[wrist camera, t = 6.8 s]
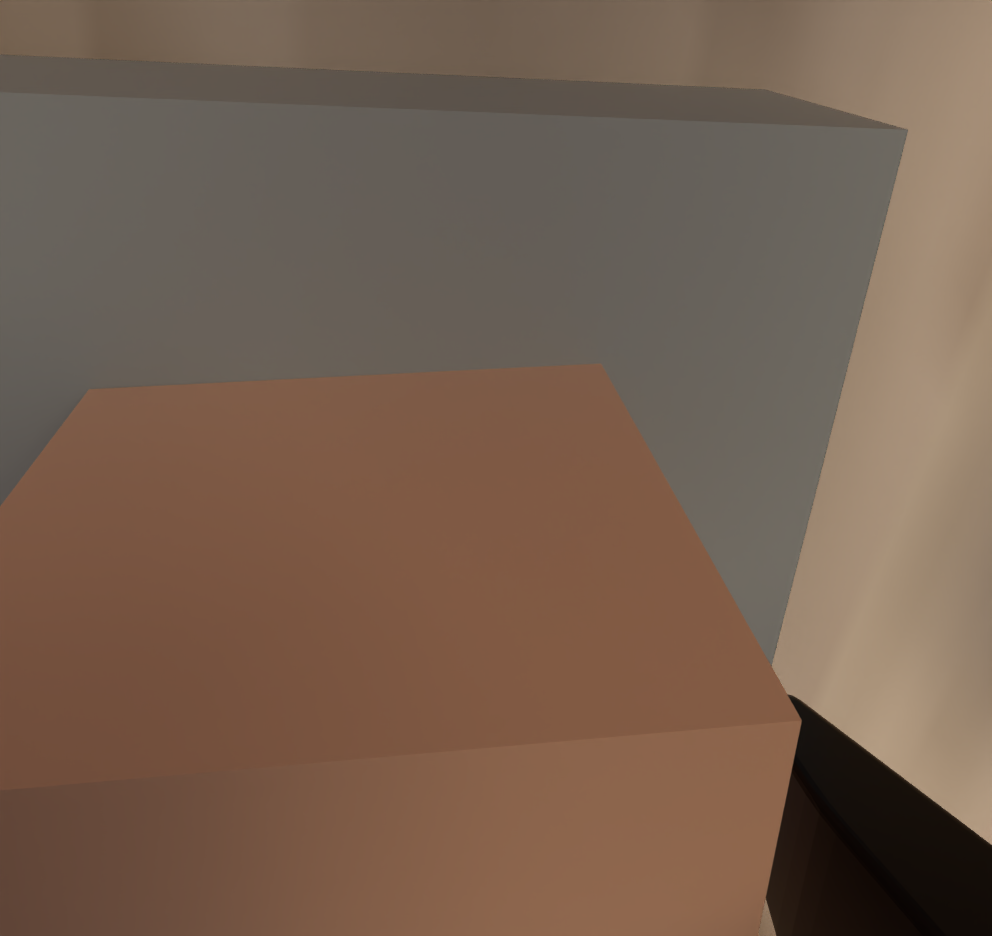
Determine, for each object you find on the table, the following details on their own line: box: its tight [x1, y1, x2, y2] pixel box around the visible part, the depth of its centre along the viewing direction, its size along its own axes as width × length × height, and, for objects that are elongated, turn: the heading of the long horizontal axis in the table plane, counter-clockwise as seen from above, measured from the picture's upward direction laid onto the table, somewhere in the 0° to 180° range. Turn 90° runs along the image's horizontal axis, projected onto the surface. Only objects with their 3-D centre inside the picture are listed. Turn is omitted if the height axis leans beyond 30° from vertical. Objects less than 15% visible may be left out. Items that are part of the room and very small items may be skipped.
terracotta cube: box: [0, 364, 802, 936], centre depth 8 cm, size 5×5×5 cm
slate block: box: [0, 55, 908, 666], centre depth 12 cm, size 10×10×4 cm
